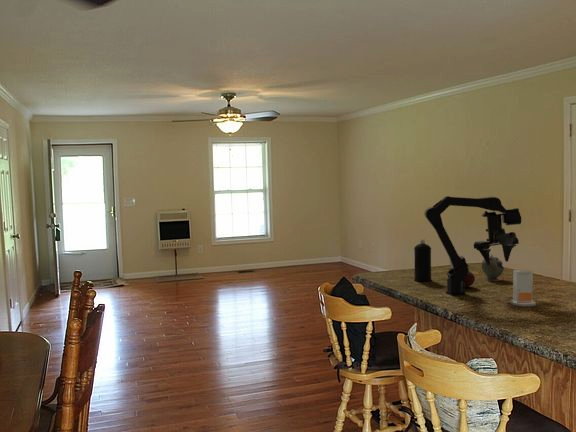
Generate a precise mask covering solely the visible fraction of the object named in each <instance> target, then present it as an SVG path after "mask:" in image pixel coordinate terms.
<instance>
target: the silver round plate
mask: <svg viewBox="0 0 576 432" xmlns="http://www.w3.org/2000/svg"><path fill="white" fill-rule="evenodd" d="M510 305H511V306H514V307H519V308H533V307H536V305H537V302H536V301H535V300H533V299H532V302H516V301H514V300H513V299H511V300H510Z"/></svg>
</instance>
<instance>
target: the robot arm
mask: <svg viewBox="0 0 576 432" xmlns="http://www.w3.org/2000/svg"><path fill="white" fill-rule="evenodd" d="M450 206H454V207H467V208H468V207H472V208H480V209H484V210H485V211H483V213H482V214H481V217H483V218H486V222H487V225H486V226H487V229H485V232H487V235H488V237H487V238H486V241H485V240H480V241H474V243H473V249H475V250H476V251H479V253H480V255H481V256H482V258H483V260H484V259H485V261H486V263H487V265H490V256H491V255H490V252H491V251H492V250H491V249H490V247H492V246H493V247H494V246H499V245H501V247H502V252H503V257H504V261H505V262H507V263H508V262H509V260H510V256H511V253H512V250H513V248H515V247H517V245H519V242H520V241H519V238H518V237H517V234H516V232H514V231H510V232H508V233H506V229H505V228H503V224H504V225H505V226H516V225H521V223H522V216H521V213H520V209H519V208H518V207H515V208H509V209H507V208H505V207H504V206H503V204H502V201H501V198H499V197H495V196H484V197H479V198H475V197H474V198H473V197H463V196H461V197H460V196H450V195H449V196H448V195H445V196H444V197H443V198H442V199H440V200H439V201H438V202H437V203H435V204H434V205H433V206H429V207H427V208H426V209H425V210H424V213H423V214H424V217H425V219H426V220H427V221H428V223H429V224H430V225H431V226H432V227H433V229H434V230H435V233H436V235H437V237H438V238H439V240H440V242H441V244H442V246H443V248H444V250H445V252H446V254H447V256H448V259H449V264H450V266H451V268H450V269H449V270H448V271H447V272H446V275H447V279H446V290H445V293H446V294H448V295H451V296H459V295H466V294H467V292H465V291H466V290H465V289H466V287H465V283H464V276H466V275H467V274H468V271H470V269H469V267H470V266H469V265H468V263H467V262H466V261H467V260H466V258H465V257H464V256H463V255H459V254H458V252H457V250H456V248H455V246H454V244H453V243H452V240H451V238H450V236H449V235H448V233H447V230H446V229H445V227H444V223H443V219H442V216H441V215H442V214H443V213H444V212H445V211H446V210H447V209H448V208H449V207H450ZM487 210H488V211H489V212H488V211H487ZM497 212H498V213H497ZM448 277H449V279H448Z"/></svg>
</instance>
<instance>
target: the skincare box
mask: <svg viewBox="0 0 576 432" xmlns="http://www.w3.org/2000/svg"><path fill="white" fill-rule="evenodd" d="M512 273H513V279H512V281H513V283H512V285H513V286H512V287H513V288H512V300H514V301H516V302H532V300H533V281H534V280H533V279H534V278H533V276H534V275H533V273H534V272H533V271H532V270H531V269H513V272H512Z"/></svg>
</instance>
